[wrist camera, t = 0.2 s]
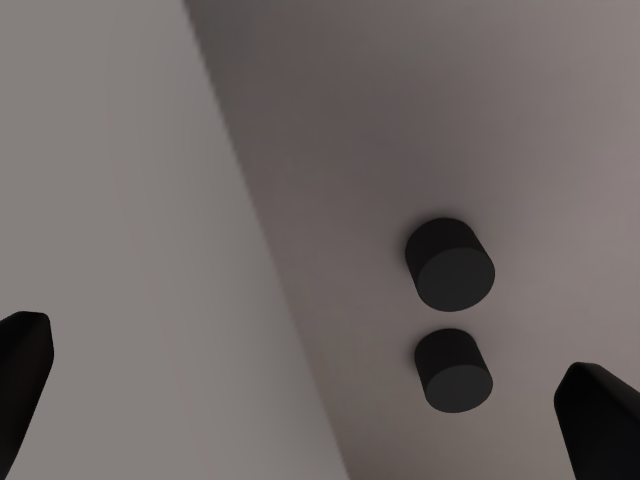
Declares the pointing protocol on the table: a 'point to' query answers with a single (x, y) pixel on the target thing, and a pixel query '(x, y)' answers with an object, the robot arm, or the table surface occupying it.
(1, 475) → the robot arm
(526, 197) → the table surface
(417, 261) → the dot
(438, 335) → the dot
